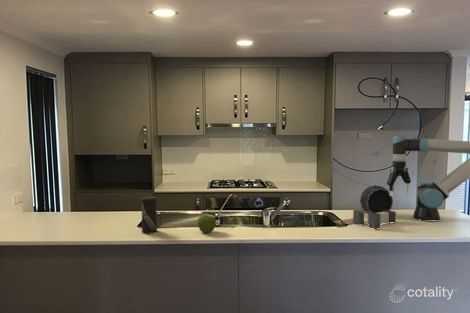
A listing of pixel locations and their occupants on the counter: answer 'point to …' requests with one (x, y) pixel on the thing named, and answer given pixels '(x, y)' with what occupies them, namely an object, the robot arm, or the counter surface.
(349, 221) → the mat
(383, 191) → the dark grey thick wheel
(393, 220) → the plug
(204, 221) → the apple
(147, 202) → the container
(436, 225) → the counter surface
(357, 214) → the housing
